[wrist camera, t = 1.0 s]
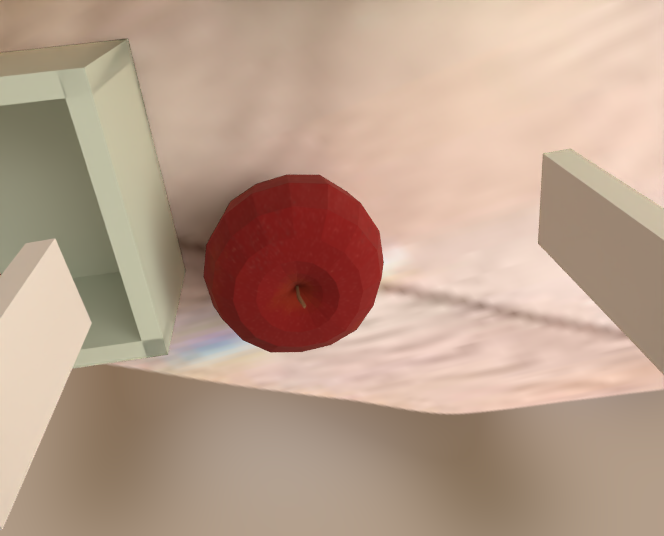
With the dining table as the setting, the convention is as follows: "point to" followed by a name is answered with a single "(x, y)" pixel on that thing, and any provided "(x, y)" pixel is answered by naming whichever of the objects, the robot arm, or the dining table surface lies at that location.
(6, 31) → the dining table surface
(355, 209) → the apple
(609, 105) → the dining table surface
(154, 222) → the cabinet
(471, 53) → the dining table surface
